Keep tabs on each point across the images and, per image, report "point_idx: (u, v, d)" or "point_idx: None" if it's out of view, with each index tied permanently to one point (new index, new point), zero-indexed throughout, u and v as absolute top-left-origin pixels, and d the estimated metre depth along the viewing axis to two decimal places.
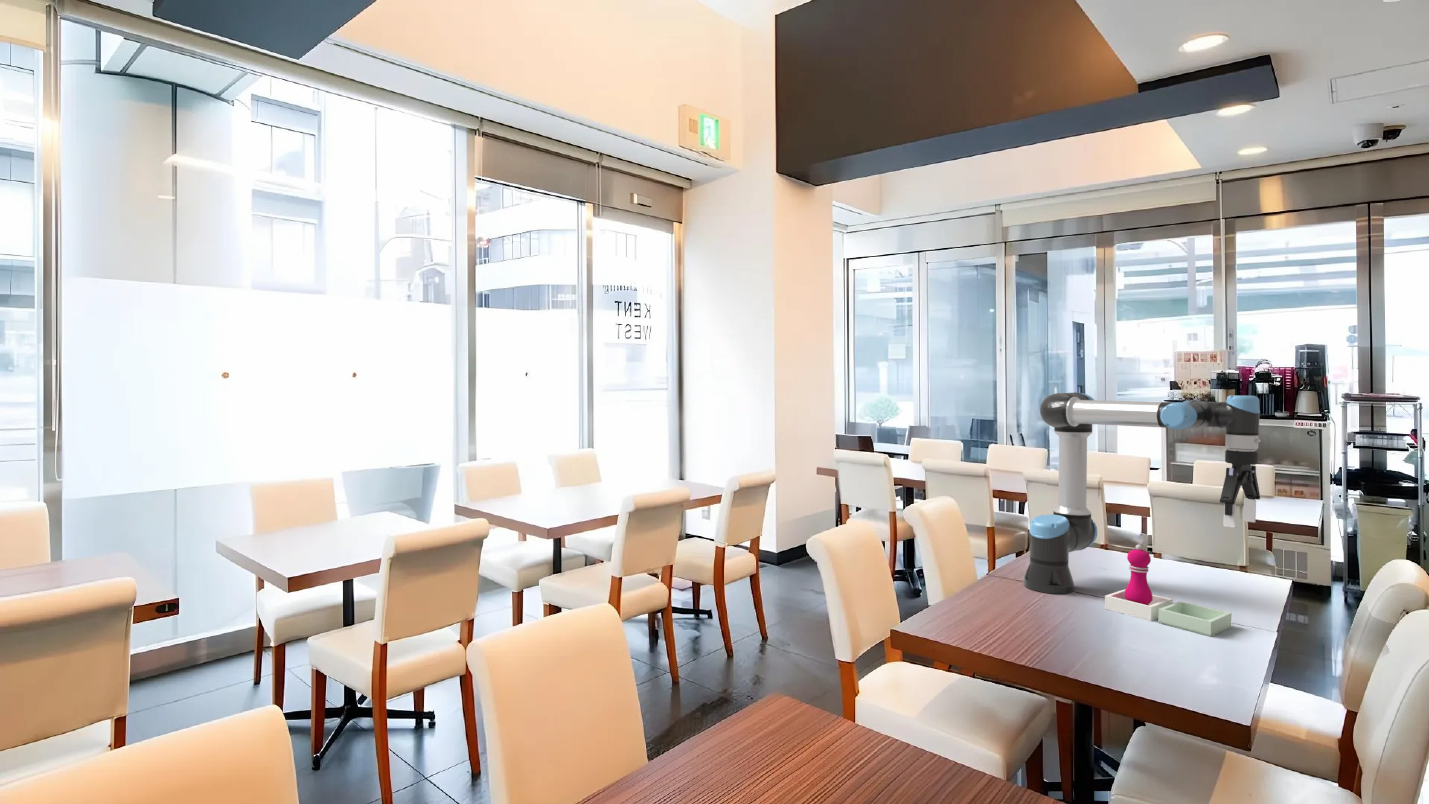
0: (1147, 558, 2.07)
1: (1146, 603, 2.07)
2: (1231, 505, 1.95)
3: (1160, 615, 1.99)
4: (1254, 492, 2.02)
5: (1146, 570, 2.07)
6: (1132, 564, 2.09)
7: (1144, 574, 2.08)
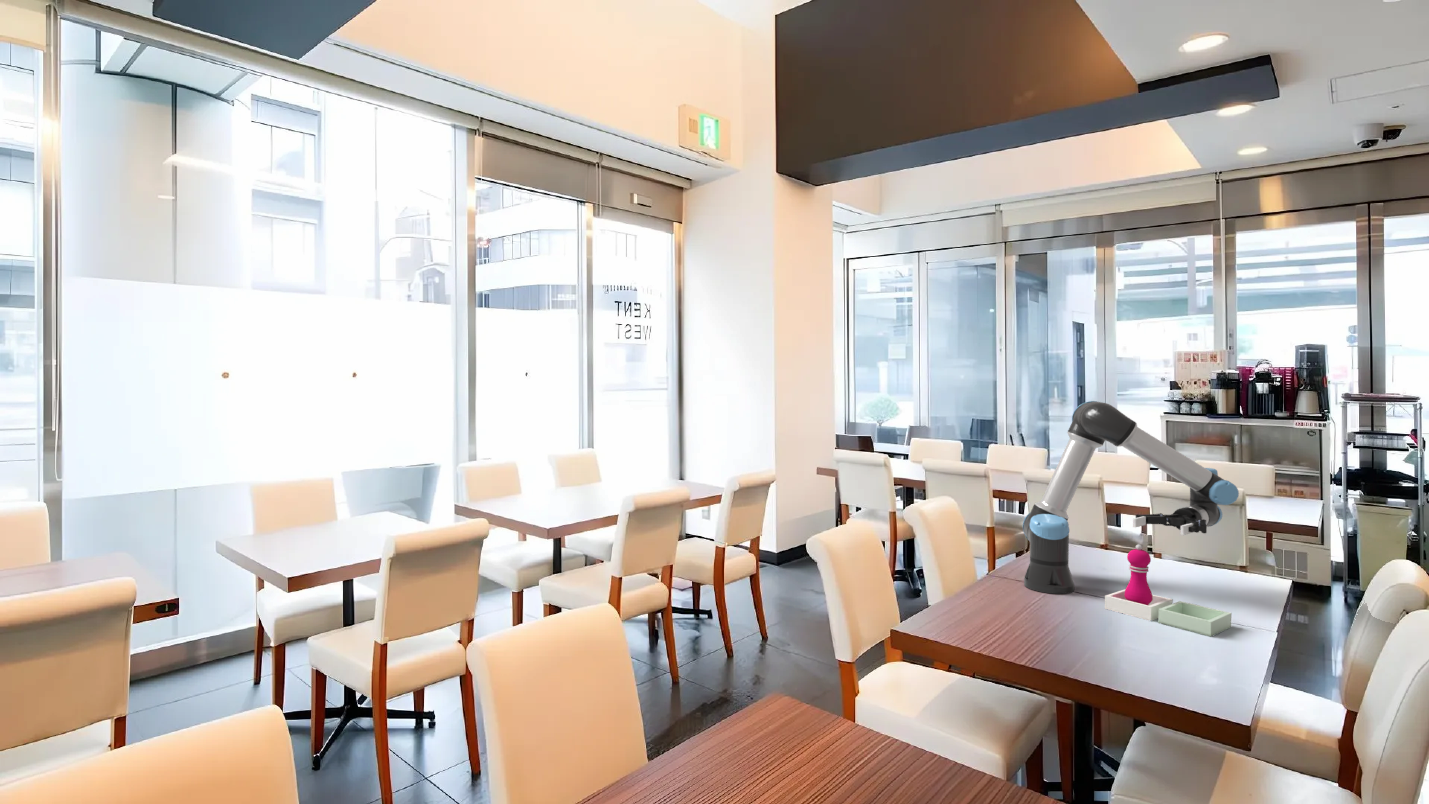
0: (1147, 558, 2.07)
1: (1146, 603, 2.07)
2: None
3: (1160, 615, 1.99)
4: (1149, 523, 2.25)
5: (1146, 570, 2.07)
6: (1132, 564, 2.09)
7: (1144, 574, 2.08)
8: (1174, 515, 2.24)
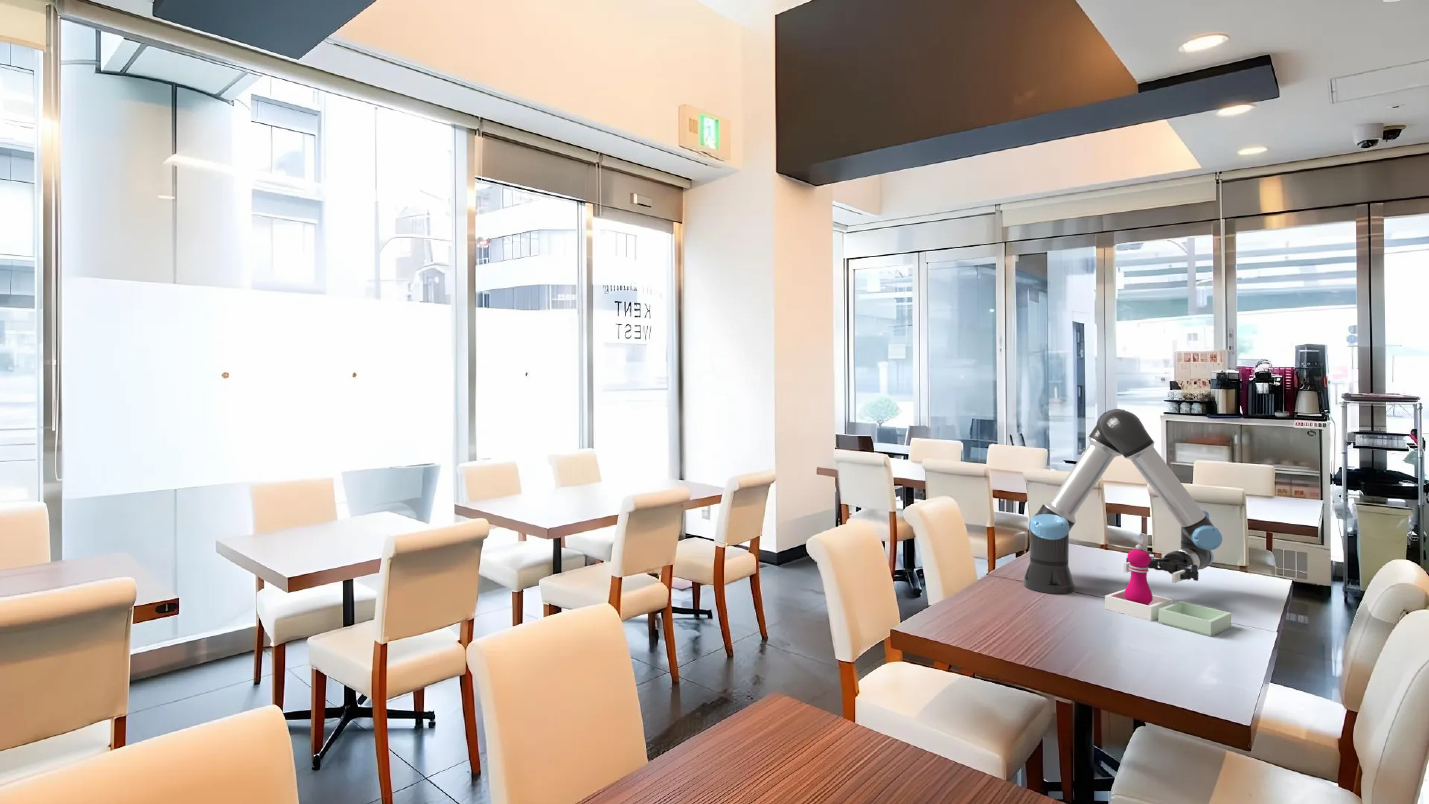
0: (1147, 558, 2.07)
1: (1146, 603, 2.07)
2: None
3: (1160, 615, 1.99)
4: None
5: (1146, 570, 2.07)
6: (1132, 564, 2.09)
7: (1144, 574, 2.08)
8: (1165, 559, 2.20)
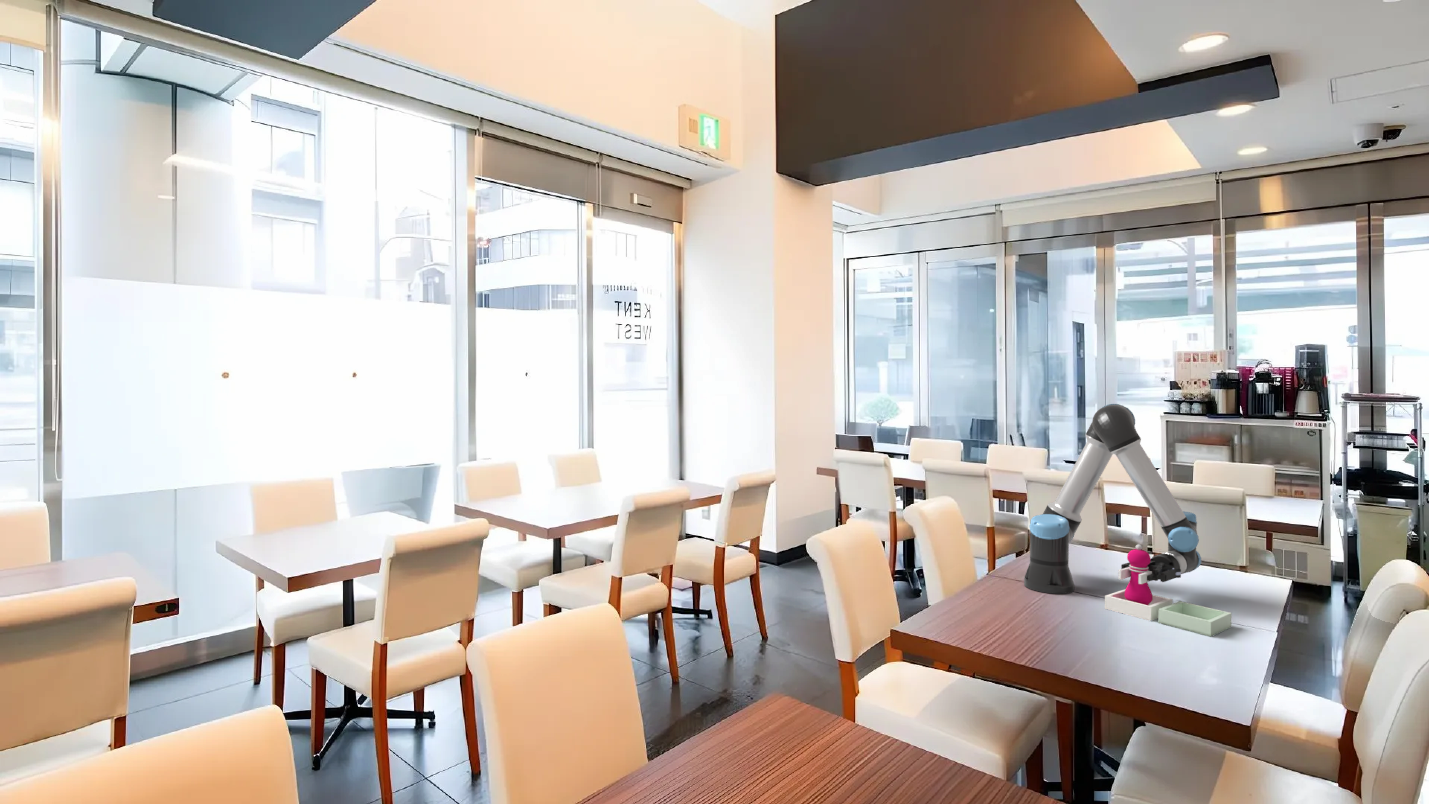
0: (1147, 558, 2.07)
1: (1146, 603, 2.07)
2: None
3: (1160, 615, 1.99)
4: None
5: (1146, 570, 2.07)
6: (1132, 564, 2.09)
7: None
8: (1152, 562, 2.16)
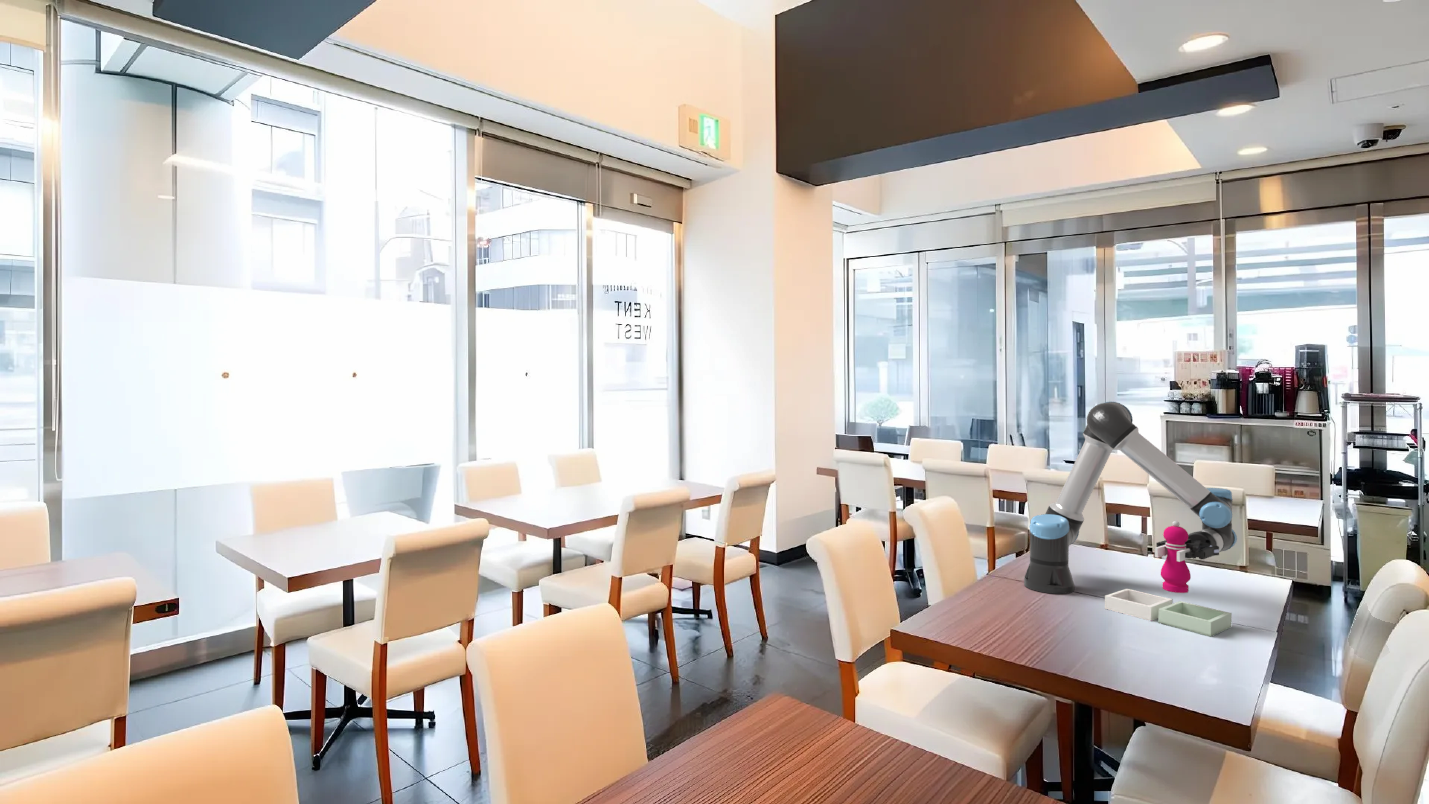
0: (1184, 535, 1.99)
1: (1184, 581, 1.99)
2: None
3: (1160, 615, 1.99)
4: None
5: (1184, 547, 1.99)
6: (1169, 541, 2.01)
7: None
8: (1188, 540, 2.08)
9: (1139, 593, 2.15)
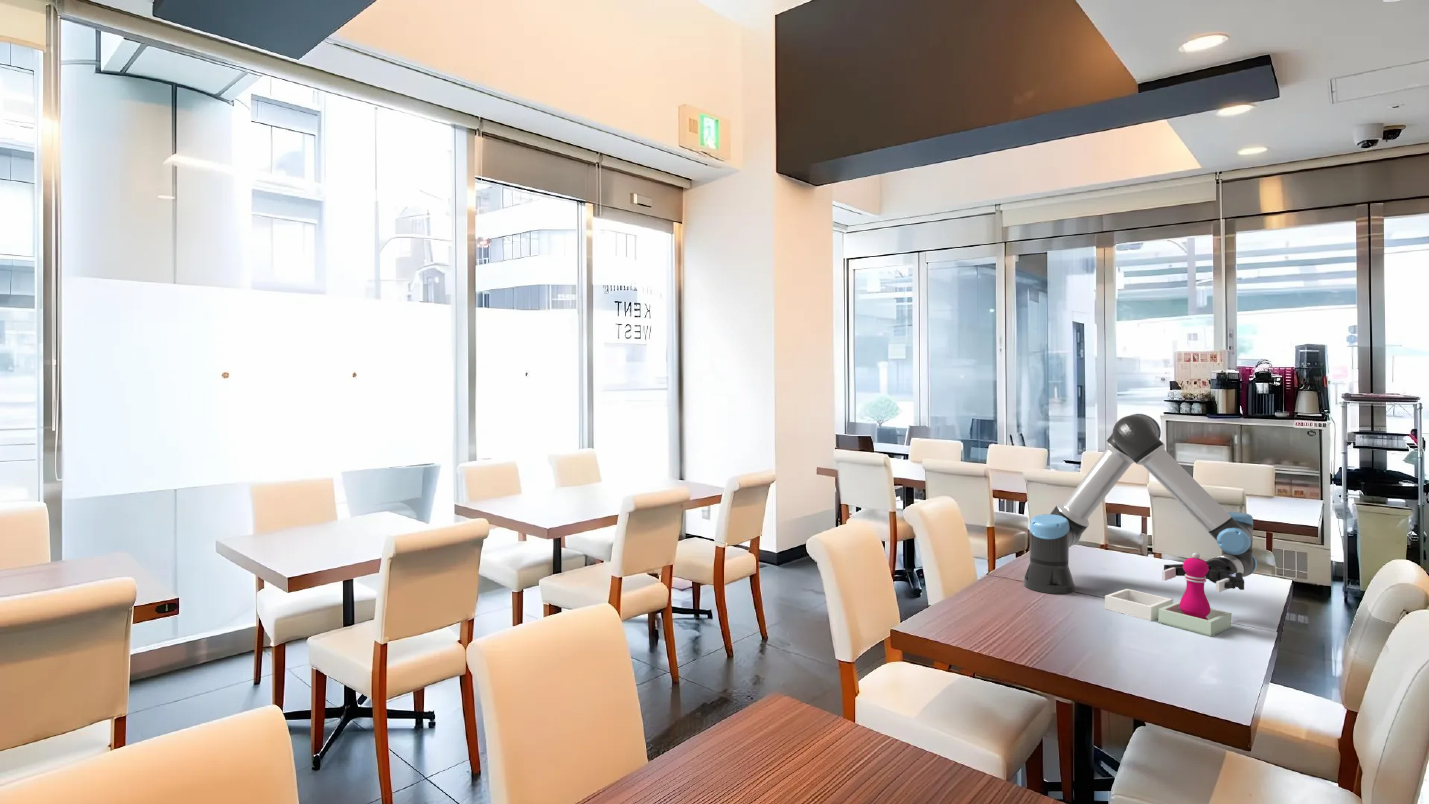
0: (1205, 567, 1.94)
1: (1204, 615, 1.94)
2: None
3: (1160, 615, 1.99)
4: None
5: (1204, 580, 1.95)
6: (1188, 573, 1.97)
7: (1202, 584, 1.95)
8: None
9: (1139, 593, 2.15)
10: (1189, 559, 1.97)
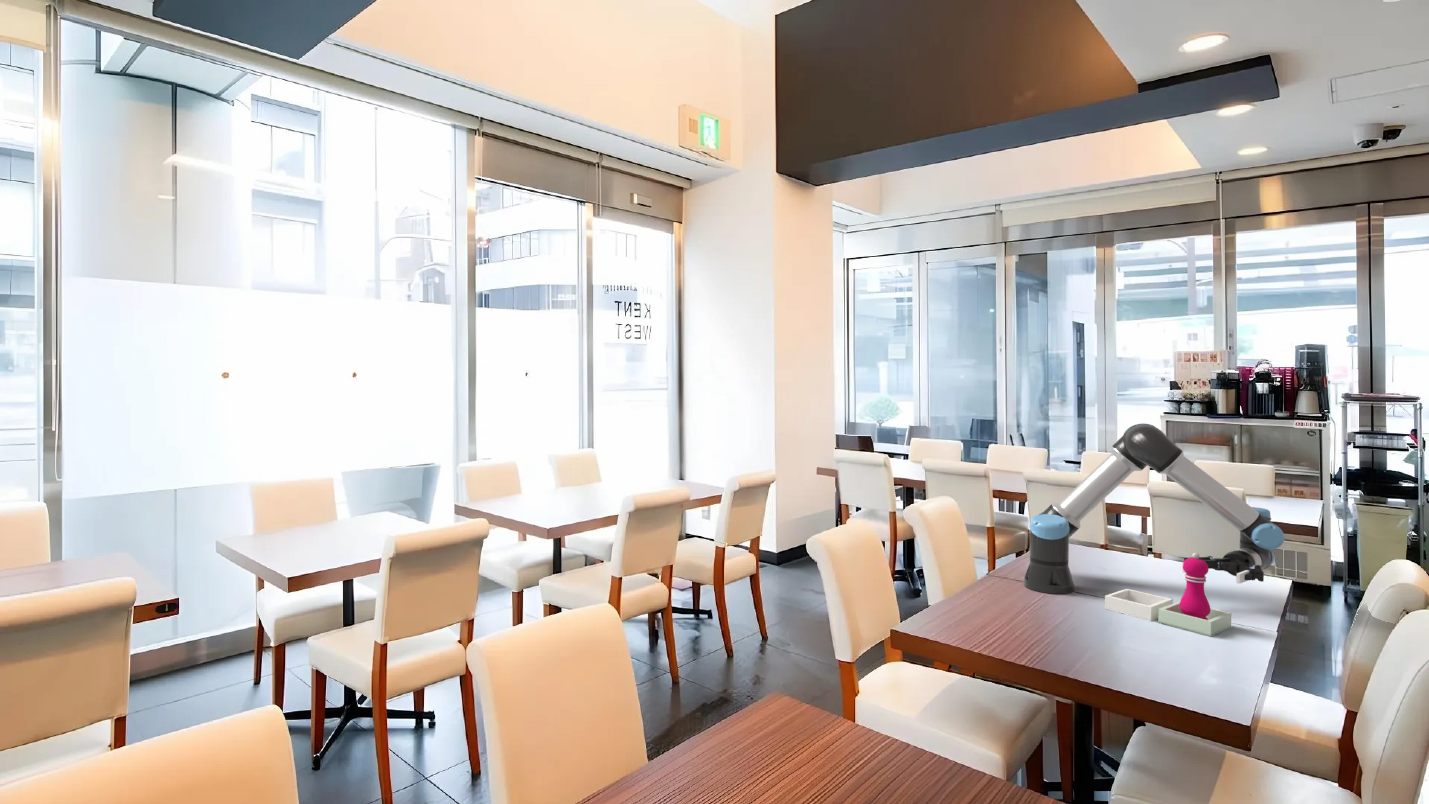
0: (1205, 568, 1.94)
1: (1204, 615, 1.94)
2: None
3: (1160, 615, 1.99)
4: None
5: (1204, 580, 1.95)
6: (1188, 574, 1.97)
7: (1201, 584, 1.95)
8: (1226, 559, 2.11)
9: (1139, 593, 2.15)
10: (1189, 559, 1.97)
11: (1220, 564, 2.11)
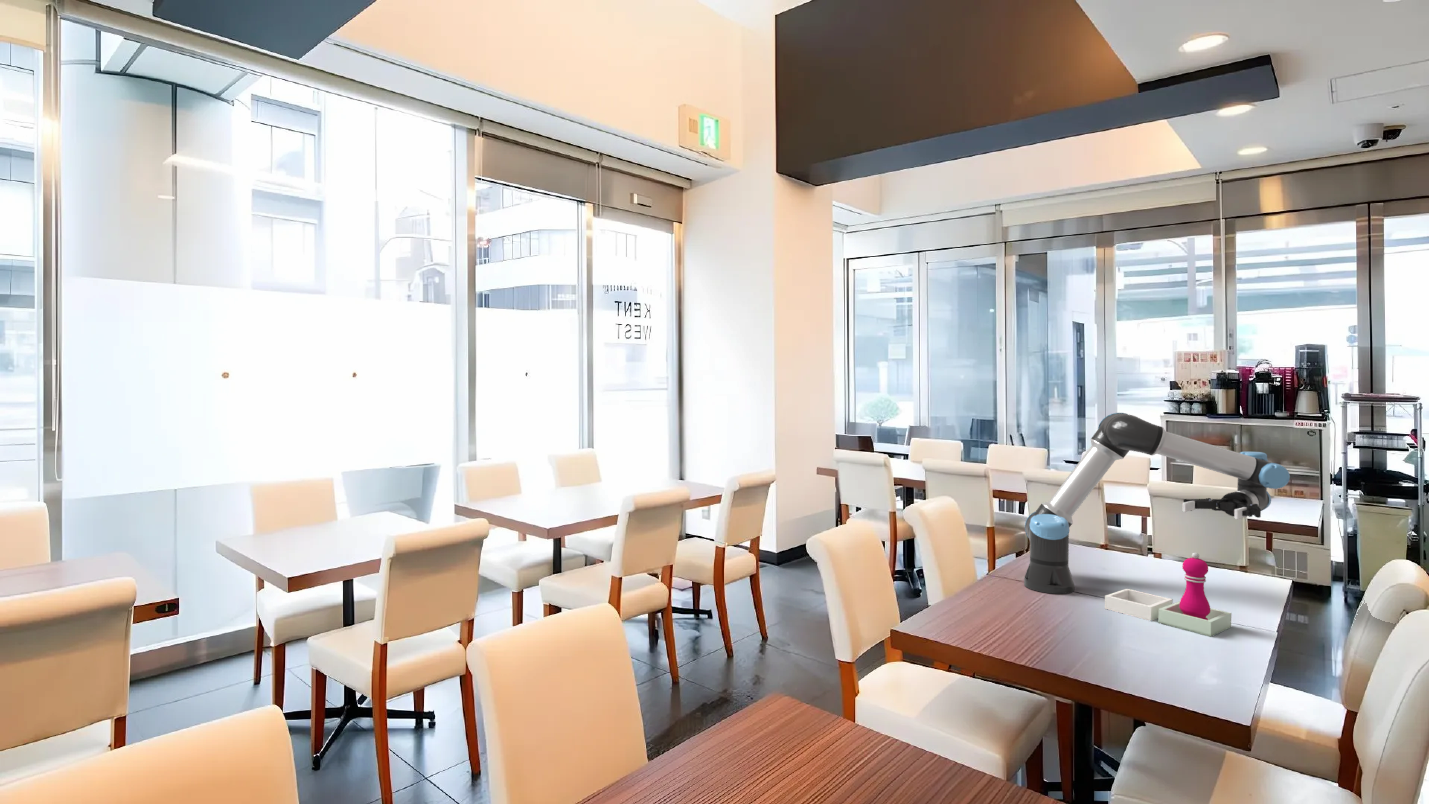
0: (1204, 567, 1.94)
1: (1204, 615, 1.94)
2: None
3: (1160, 615, 1.99)
4: None
5: (1203, 580, 1.95)
6: (1188, 574, 1.97)
7: (1201, 584, 1.95)
8: (1224, 499, 2.18)
9: (1139, 593, 2.15)
10: (1189, 559, 1.97)
11: (1218, 504, 2.18)
